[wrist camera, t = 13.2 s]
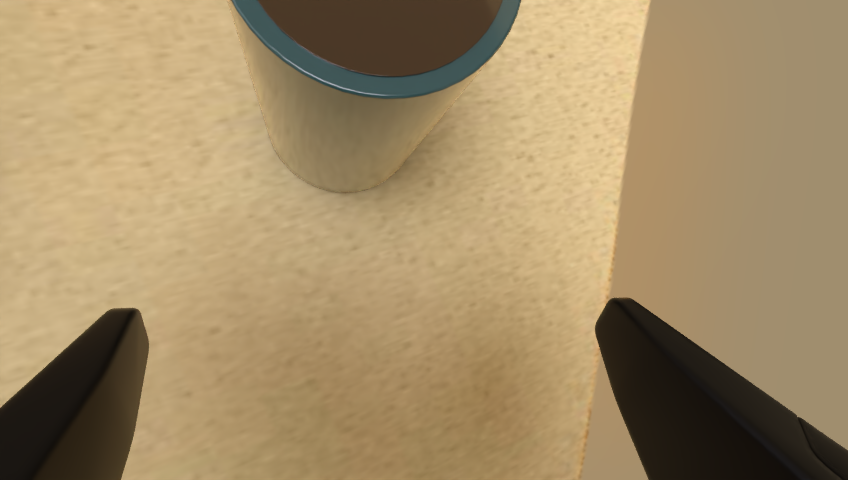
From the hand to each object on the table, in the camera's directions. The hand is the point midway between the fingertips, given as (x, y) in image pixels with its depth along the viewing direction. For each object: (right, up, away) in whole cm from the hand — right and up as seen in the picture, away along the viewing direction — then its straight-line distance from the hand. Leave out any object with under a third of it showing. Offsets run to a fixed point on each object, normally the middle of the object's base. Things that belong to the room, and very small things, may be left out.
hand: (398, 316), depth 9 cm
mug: (-3, +8, +14) cm, 16 cm away
